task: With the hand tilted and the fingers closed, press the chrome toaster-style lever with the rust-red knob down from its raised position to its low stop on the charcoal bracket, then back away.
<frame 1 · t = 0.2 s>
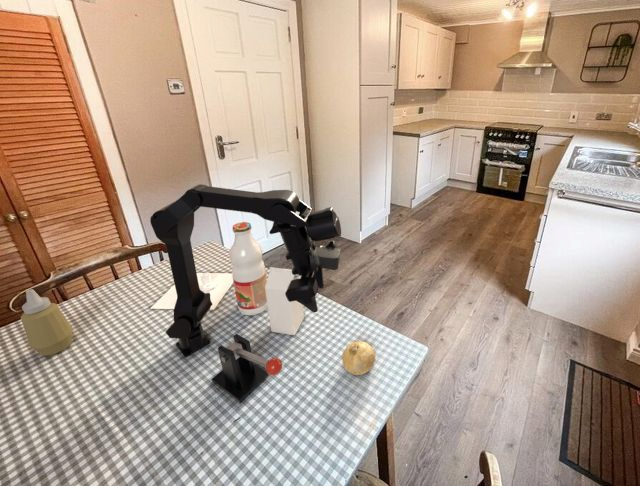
hand: (318, 299, 75), 15 cm above the table, tool pointing down, fingers open, 9 cm apart
bracket: (240, 379, 71), on the table
onion: (358, 367, 75), on the table
lever: (253, 358, 64), point 10 cm above the table, hinge at 12.0°
fruit juice: (254, 306, 95), on the table
teacup and saucer: (198, 290, 103), on the table
squeeze bottle: (57, 347, 80), on the table
milk carton: (288, 325, 88), on the table
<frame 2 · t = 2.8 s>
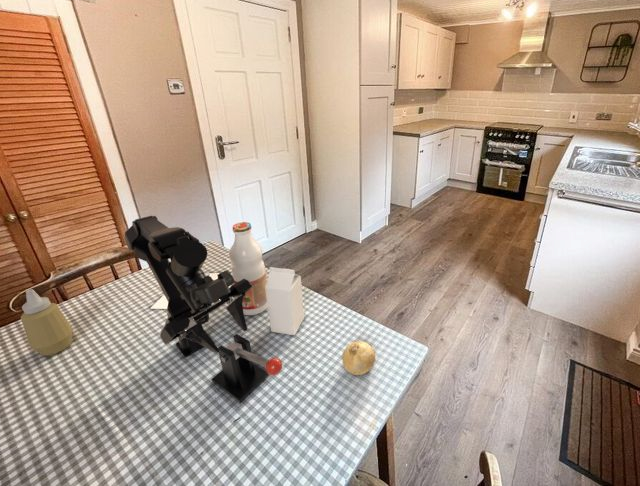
hand: (232, 341, 64), 14 cm above the table, tool tilted 45°, fingers open, 7 cm apart
nothing on the table moved.
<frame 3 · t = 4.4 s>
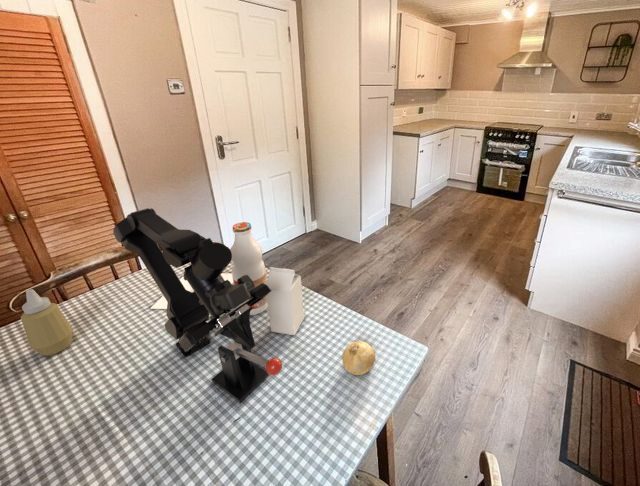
hand: (252, 347, 63), 14 cm above the table, tool tilted 45°, fingers closed
nothing on the table moved.
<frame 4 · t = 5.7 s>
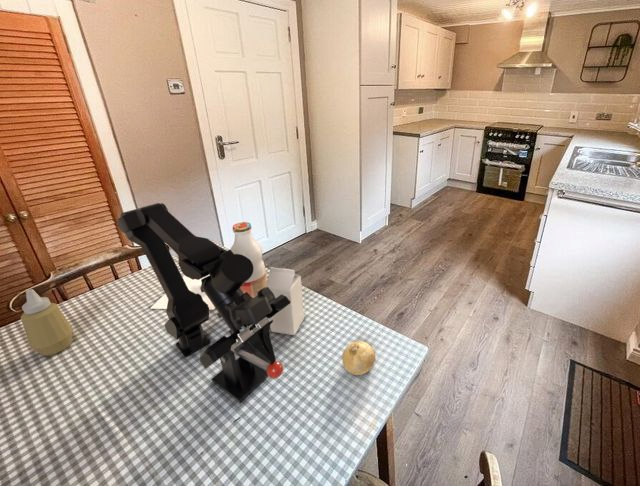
hand: (273, 362, 60), 13 cm above the table, tool tilted 45°, fingers closed, pressing on lever
lever: (254, 359, 64), point 10 cm above the table, hinge at 8.3°, touching gripper
everything else where it was.
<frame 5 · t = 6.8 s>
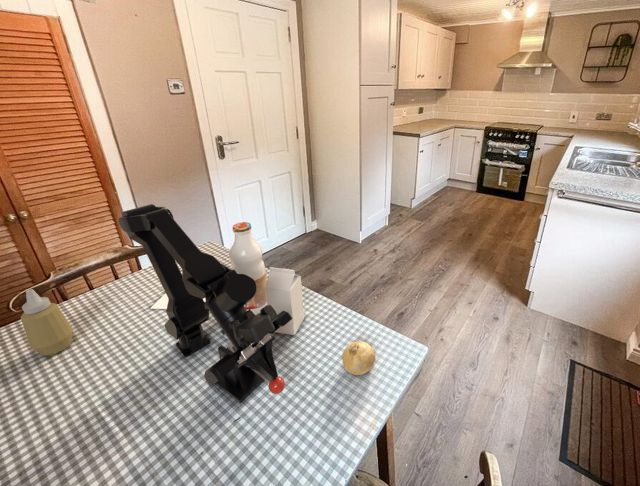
hand: (275, 378, 62), 8 cm above the table, tool tilted 45°, fingers closed, pressing on lever
lever: (255, 367, 65), point 8 cm above the table, hinge at -11.2°, touching gripper
everything else where it was.
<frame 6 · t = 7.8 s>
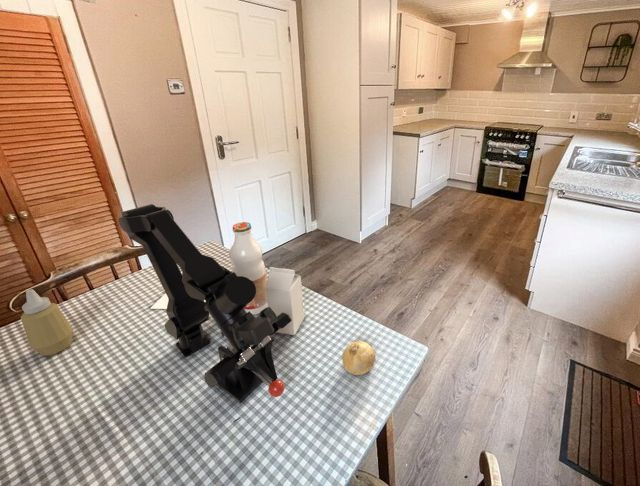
hand: (275, 380, 62), 8 cm above the table, tool tilted 45°, fingers closed
lever: (255, 369, 65), point 7 cm above the table, hinge at -15.9°
everything else where it was.
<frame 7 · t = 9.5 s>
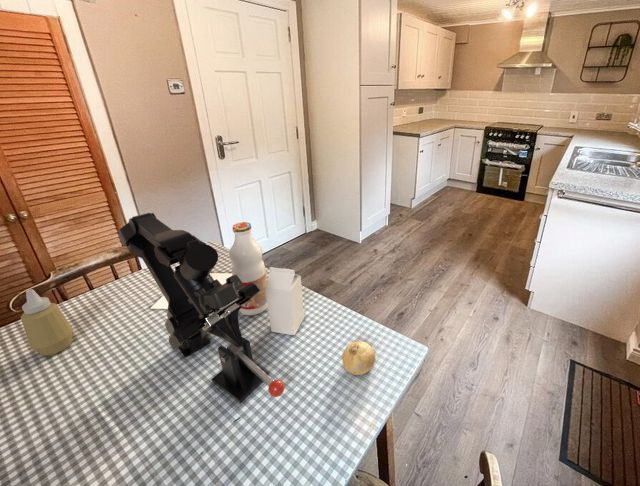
hand: (241, 346, 64), 13 cm above the table, tool tilted 45°, fingers closed
nothing on the table moved.
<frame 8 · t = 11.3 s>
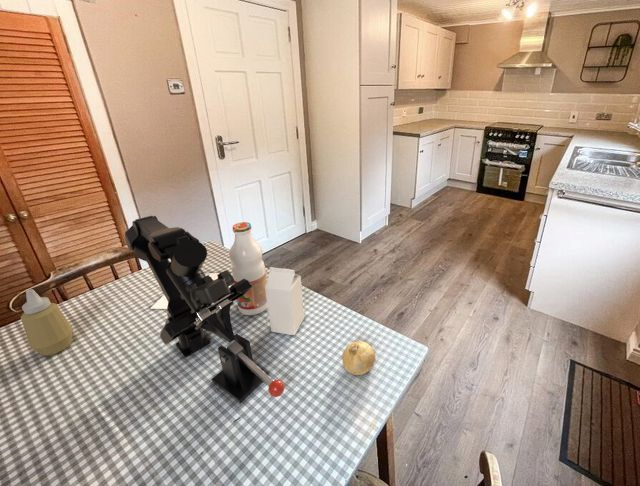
hand: (232, 341, 64), 14 cm above the table, tool tilted 45°, fingers closed
nothing on the table moved.
at the end: lever at -16° (first picture: +12°); onion moved 0.2 cm from its start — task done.
